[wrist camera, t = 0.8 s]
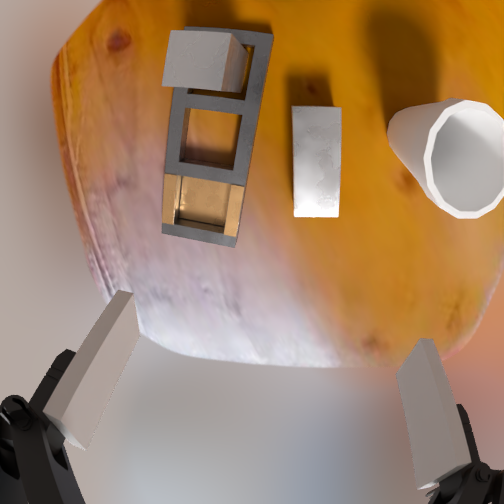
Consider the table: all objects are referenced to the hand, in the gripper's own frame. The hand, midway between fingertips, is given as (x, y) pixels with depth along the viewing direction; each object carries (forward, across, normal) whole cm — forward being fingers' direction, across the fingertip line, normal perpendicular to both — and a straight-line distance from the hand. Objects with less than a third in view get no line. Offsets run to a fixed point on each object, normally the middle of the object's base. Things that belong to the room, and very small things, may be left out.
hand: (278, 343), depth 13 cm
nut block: (+24, +2, +3) cm, 24 cm away
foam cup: (+24, +13, +8) cm, 29 cm away
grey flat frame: (+24, -8, +4) cm, 25 cm away
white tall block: (+24, -8, +11) cm, 27 cm away
